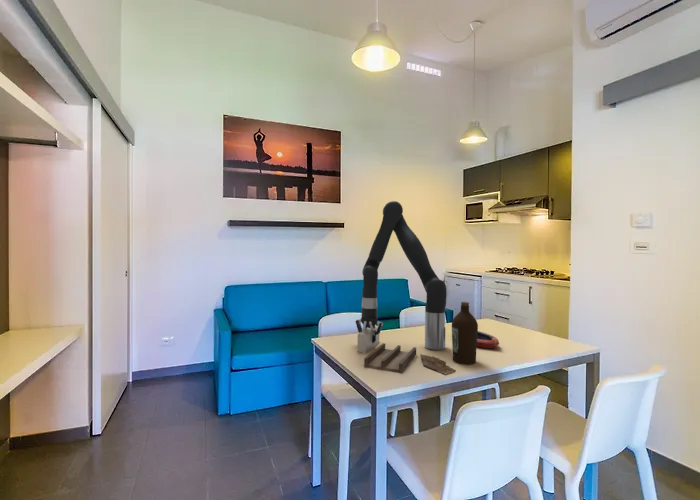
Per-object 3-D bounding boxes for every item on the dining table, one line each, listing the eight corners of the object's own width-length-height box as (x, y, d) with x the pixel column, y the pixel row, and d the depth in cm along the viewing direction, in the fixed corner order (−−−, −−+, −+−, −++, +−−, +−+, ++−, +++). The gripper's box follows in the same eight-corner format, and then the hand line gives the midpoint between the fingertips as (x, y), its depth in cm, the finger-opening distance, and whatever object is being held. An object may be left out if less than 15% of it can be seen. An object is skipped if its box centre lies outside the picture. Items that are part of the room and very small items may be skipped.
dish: (468, 334, 197) (468, 325, 197) (509, 350, 168) (509, 339, 168) (444, 336, 192) (444, 327, 192) (481, 353, 163) (481, 342, 163)
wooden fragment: (460, 375, 135) (460, 372, 135) (432, 376, 133) (433, 373, 133) (435, 355, 160) (435, 352, 160) (411, 355, 158) (411, 353, 158)
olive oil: (472, 357, 156) (473, 300, 155) (481, 365, 145) (482, 304, 145) (448, 357, 156) (449, 300, 155) (455, 365, 145) (456, 304, 145)
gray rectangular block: (379, 341, 179) (379, 326, 179) (365, 352, 161) (365, 335, 161) (371, 340, 181) (372, 325, 181) (357, 351, 162) (357, 334, 162)
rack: (416, 355, 158) (416, 347, 158) (402, 372, 136) (402, 363, 136) (382, 350, 164) (382, 343, 164) (364, 366, 142) (364, 358, 142)
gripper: (385, 306, 171) (385, 342, 171) (358, 304, 177) (358, 338, 177) (381, 309, 164) (380, 346, 164) (352, 306, 170) (352, 342, 170)
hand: (368, 341), depth 171 cm, fingers closed on gray rectangular block, 4 cm apart
